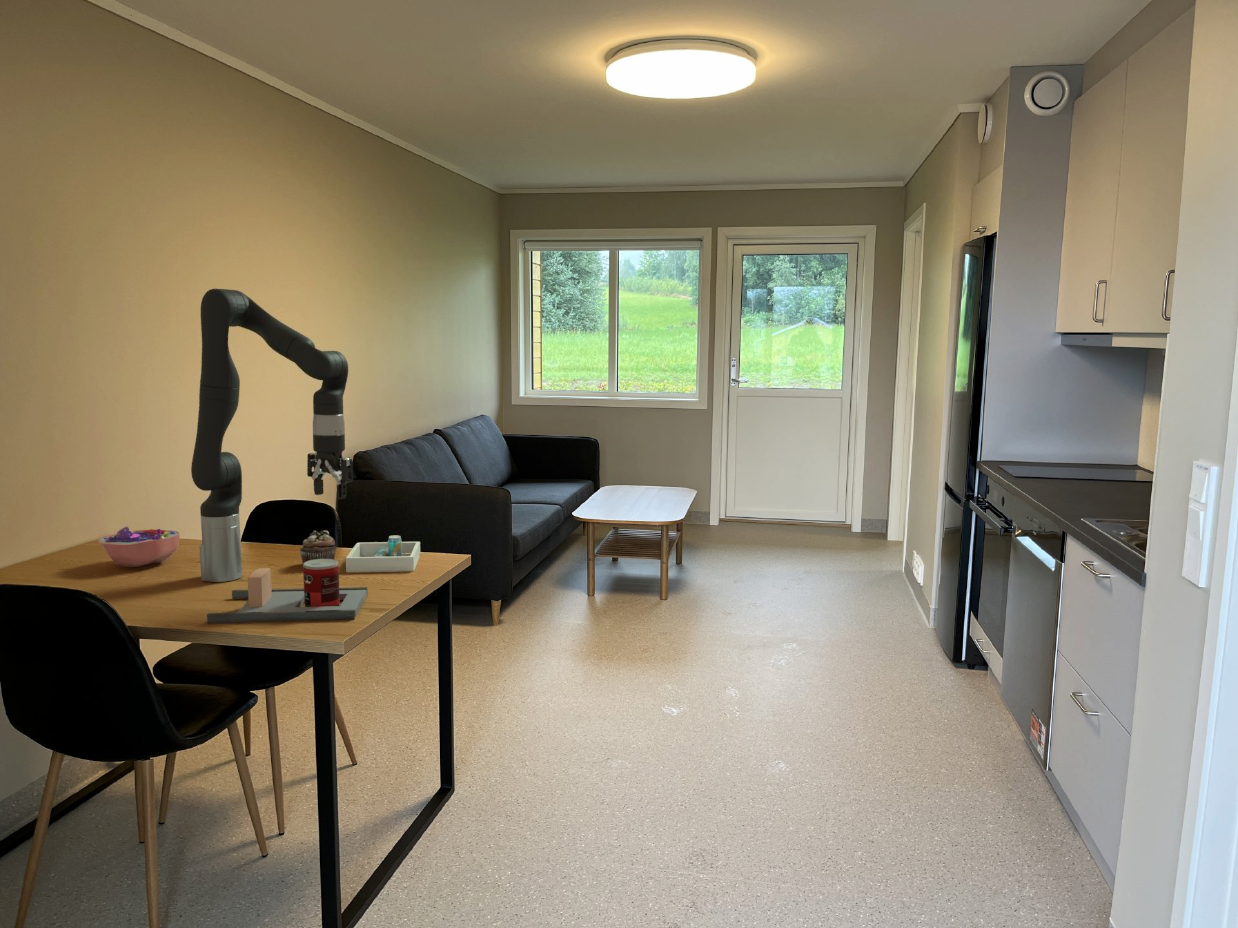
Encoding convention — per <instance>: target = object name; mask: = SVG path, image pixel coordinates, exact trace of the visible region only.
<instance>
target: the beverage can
mask: <svg viewBox="0 0 1238 928" xmlns="http://www.w3.org/2000/svg"><path fill="white" fill-rule="evenodd" d="M387 542H388V548H386V547H383V548H380V549H379V550H378V551H377V552H376V553H375V554H374V555H373V557H394V556H402V542H403V541H402V538H401V535H398V534H397V535H394V534H393V535H389V536H388V540H387Z"/></svg>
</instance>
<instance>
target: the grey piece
mask: <svg viewBox="0 0 1238 928" xmlns="http://www.w3.org/2000/svg"><path fill="white" fill-rule="evenodd" d="M271 573H272V572H271V567H261V568H260V567H258V568H256V569H255V570H254V571H253V572H252V573H250V574H249V576H248V577H247V590H248V596H249V599H248V600H247V601H246V603H244V605H243V606H242V607H241V608H239V610H238V611H237V612H275V611H317V610H355V617H356V616H357V614H358V613H359V611H360V608H361V607H362V605H363V603H364V601H365V600H366V598H367V597H368V595H367V590H339V598H340V600H341V601H342V600H343V601H342V602H341V604H339V606H326V607H305V606H303V604H305V599H304V591H282V592H272V590H271V589H272V574H271Z"/></svg>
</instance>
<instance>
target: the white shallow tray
mask: <svg viewBox="0 0 1238 928" xmlns="http://www.w3.org/2000/svg"><path fill="white" fill-rule="evenodd" d="M383 547H386V548H388V541H386V542H385V541H383V542H382V541H381V542H378V541H374V542H372V541H371V542H357V543H356V544H355V545H354V546H353V547H352V549H351V551H350V552H349V553H348V554H347V556H346V557H345V573H385V572H387V573H389V572H390V573H391V572H393V573H394V572H397V573H398V572H414V571H415V570H416V567H417V564H418V562H419V560H420V557H421V541H402V553H404V554H402V556H394V557H373V555H374V554H375V553H376V552H377V551H378V550H379V549H380V548H383ZM405 553H411V554H405ZM419 554H420V555H419Z"/></svg>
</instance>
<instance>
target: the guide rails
mask: <svg viewBox="0 0 1238 928" xmlns="http://www.w3.org/2000/svg"><path fill="white" fill-rule="evenodd" d="M271 590H272V592H282V591H304V588H271ZM339 590H367V596H368V595H369V593H368V590H369V589H368V586H365V587H363V586H362V587H361V586H360V587H355V586H354V587H339ZM231 600H249V596H248V589H233V590H231ZM355 619H356V616H355V610H317V611H275V612H238V611H237V612H207V614H206V623H207V624H223V623H224V624H225V623H229V624H230V623H262V622H263V623H265V622H268V623H271V622H299V621H301V622H302V621H303V622H305V621H340V620H341V621H345V620H346V621H348V620H355Z"/></svg>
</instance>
